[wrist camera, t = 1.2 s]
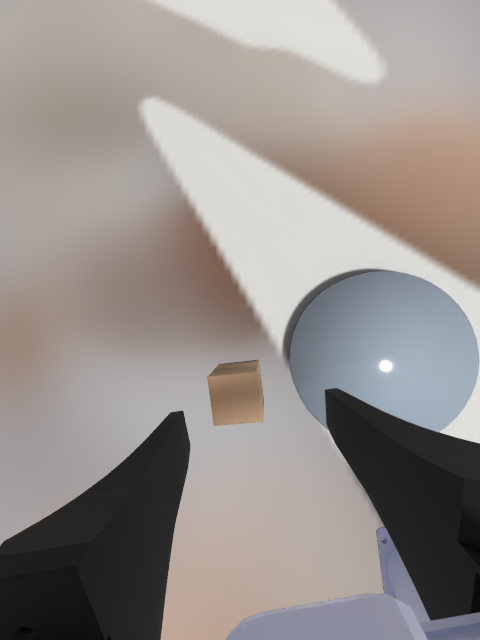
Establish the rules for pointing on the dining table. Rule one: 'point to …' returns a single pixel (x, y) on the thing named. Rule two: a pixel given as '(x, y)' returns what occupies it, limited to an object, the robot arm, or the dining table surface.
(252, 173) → the dining table surface
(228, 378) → the walnut block
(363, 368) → the slate dish
